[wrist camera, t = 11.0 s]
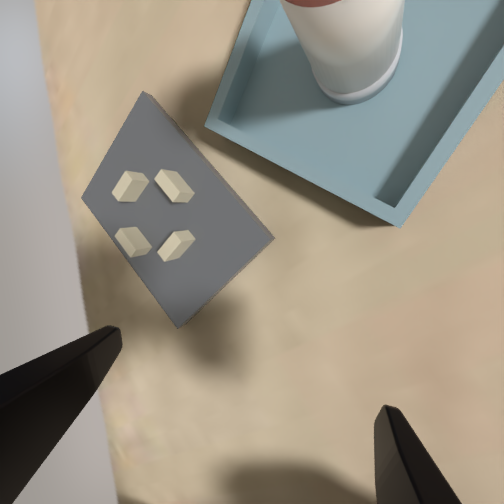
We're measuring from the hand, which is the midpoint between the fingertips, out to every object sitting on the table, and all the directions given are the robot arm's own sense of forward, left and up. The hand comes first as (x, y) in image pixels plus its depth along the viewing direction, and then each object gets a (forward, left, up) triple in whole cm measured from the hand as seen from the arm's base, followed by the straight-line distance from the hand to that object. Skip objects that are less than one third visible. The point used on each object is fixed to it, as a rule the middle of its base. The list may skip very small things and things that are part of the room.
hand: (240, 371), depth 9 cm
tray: (+5, -13, -12) cm, 18 cm away
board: (+14, +2, -12) cm, 18 cm away
